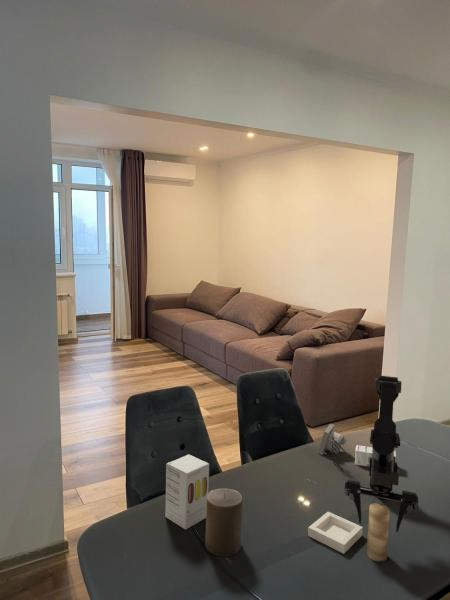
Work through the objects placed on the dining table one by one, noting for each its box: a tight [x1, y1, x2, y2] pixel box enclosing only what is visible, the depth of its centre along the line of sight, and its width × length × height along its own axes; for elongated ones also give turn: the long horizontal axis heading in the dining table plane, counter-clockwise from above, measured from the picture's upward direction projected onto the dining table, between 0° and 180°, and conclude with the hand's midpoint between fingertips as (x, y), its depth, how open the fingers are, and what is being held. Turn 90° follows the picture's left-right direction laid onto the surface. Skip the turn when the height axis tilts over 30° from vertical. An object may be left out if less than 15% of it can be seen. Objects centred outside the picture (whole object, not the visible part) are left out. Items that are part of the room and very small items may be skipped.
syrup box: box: [354, 445, 397, 468], centre depth 170 cm, size 6×6×14 cm
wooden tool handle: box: [366, 502, 390, 563], centre depth 118 cm, size 5×5×13 cm
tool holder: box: [307, 511, 364, 555], centre depth 126 cm, size 11×11×2 cm
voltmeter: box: [317, 423, 347, 472], centre depth 174 cm, size 27×11×10 cm, turn 8°
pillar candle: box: [204, 488, 243, 558], centre depth 121 cm, size 10×10×15 cm
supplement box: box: [164, 454, 210, 530], centre depth 133 cm, size 10×9×17 cm
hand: (378, 527), depth 118 cm, fingers open, 9 cm apart
